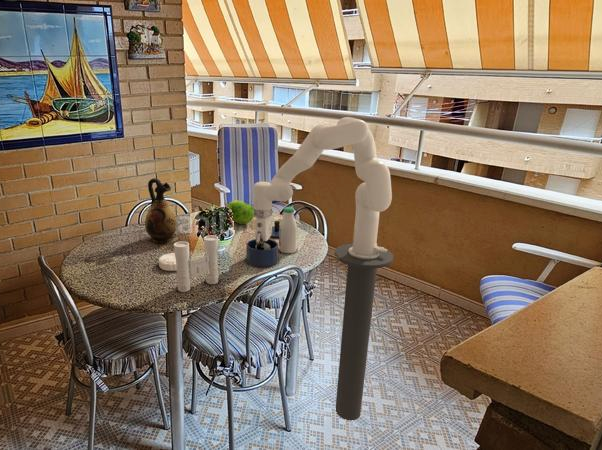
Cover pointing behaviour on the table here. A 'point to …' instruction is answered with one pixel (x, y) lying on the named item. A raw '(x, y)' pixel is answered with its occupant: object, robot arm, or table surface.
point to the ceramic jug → (160, 214)
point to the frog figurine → (266, 246)
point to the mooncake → (168, 262)
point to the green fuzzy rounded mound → (241, 212)
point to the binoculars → (196, 263)
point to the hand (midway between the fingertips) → (262, 252)
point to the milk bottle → (288, 231)
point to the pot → (261, 254)
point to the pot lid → (275, 229)
